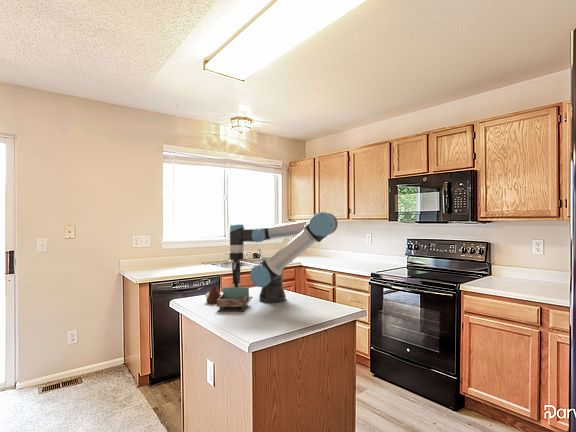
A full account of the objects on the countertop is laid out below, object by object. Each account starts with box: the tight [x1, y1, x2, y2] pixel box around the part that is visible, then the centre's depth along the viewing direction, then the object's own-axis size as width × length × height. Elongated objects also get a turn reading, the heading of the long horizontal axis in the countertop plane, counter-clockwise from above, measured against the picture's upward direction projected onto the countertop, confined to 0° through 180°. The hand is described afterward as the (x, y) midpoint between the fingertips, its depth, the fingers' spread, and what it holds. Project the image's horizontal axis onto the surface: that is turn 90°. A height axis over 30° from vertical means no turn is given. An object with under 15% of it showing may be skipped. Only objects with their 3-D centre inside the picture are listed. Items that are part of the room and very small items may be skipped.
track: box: [217, 296, 253, 313], centre depth 180 cm, size 13×32×1 cm, turn 178°
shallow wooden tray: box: [216, 286, 250, 310], centre depth 172 cm, size 14×14×9 cm
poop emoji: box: [205, 285, 222, 305], centre depth 185 cm, size 10×8×9 cm
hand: (236, 295), depth 182 cm, fingers closed
